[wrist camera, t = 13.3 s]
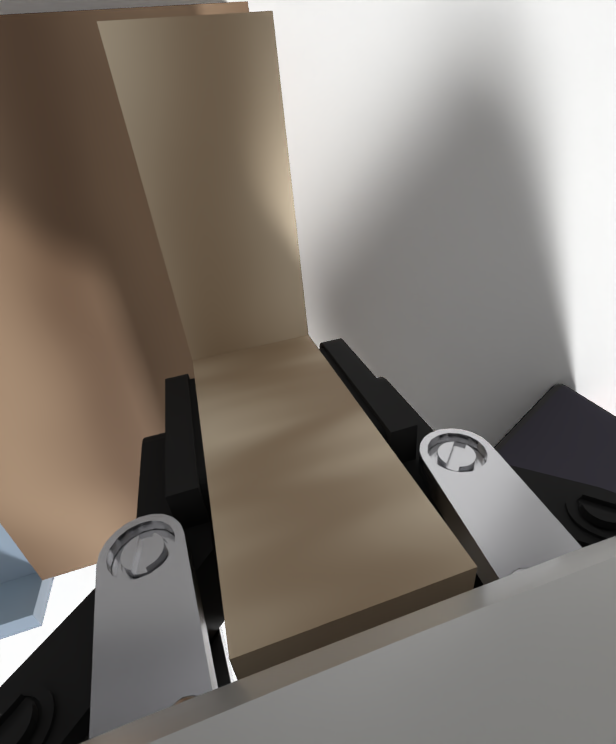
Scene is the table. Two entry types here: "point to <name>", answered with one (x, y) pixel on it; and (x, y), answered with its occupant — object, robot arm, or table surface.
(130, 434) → the walnut board
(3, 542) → the box
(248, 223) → the bent tan panel
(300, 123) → the table surface
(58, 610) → the table surface
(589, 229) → the table surface
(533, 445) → the charcoal rectangular box
